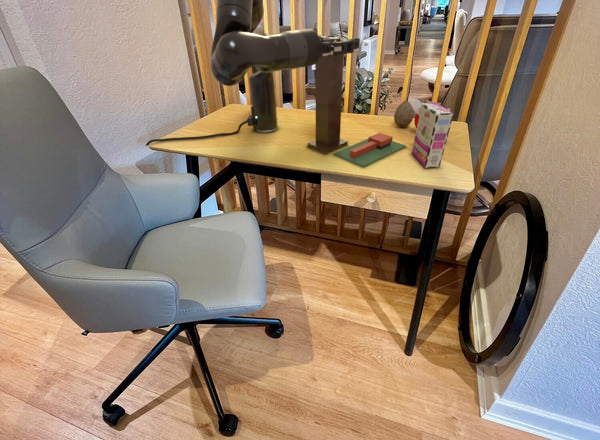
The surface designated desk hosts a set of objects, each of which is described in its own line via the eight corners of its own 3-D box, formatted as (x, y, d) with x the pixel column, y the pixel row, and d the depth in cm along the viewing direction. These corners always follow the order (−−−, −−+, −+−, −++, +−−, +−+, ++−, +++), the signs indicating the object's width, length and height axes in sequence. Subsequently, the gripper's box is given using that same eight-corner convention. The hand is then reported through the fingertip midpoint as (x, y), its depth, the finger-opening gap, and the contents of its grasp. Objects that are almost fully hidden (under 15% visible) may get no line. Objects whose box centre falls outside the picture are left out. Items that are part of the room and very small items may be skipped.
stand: (325, 154, 104) (326, 46, 85) (307, 146, 109) (305, 43, 90) (347, 145, 109) (353, 41, 90) (329, 138, 115) (332, 39, 96)
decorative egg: (389, 127, 121) (393, 101, 115) (397, 122, 126) (401, 97, 120) (407, 131, 118) (412, 104, 112) (414, 125, 122) (419, 99, 116)
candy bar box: (440, 167, 93) (455, 113, 84) (424, 169, 93) (437, 114, 83) (425, 152, 102) (436, 101, 93) (410, 153, 102) (420, 102, 92)
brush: (358, 160, 98) (359, 151, 96) (345, 154, 102) (346, 146, 100) (391, 145, 107) (392, 136, 105) (378, 140, 110) (379, 132, 108)
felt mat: (363, 167, 95) (363, 165, 95) (333, 154, 104) (333, 153, 103) (405, 147, 106) (406, 145, 106) (375, 136, 115) (375, 135, 114)
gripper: (317, 32, 63) (369, 25, 71) (275, 28, 71) (326, 22, 80) (317, 72, 67) (366, 61, 75) (277, 64, 76) (325, 55, 84)
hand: (345, 41), depth 77 cm, fingers open, 8 cm apart
